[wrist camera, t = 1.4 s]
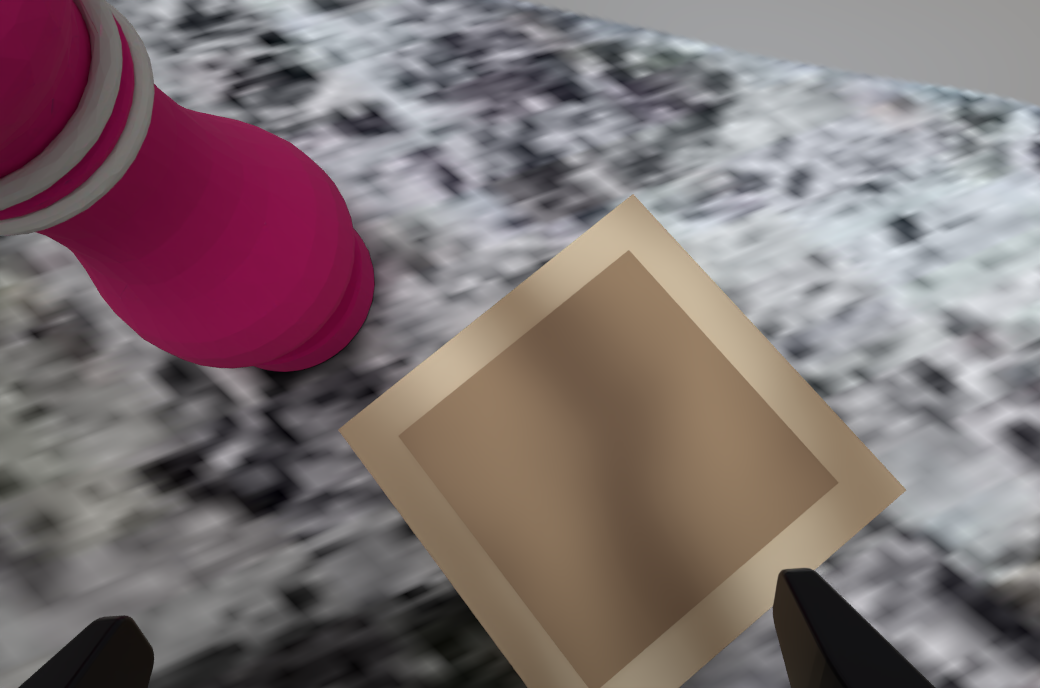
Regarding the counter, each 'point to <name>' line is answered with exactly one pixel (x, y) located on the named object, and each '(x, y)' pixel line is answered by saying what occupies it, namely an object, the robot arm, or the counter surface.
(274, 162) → the pepper mill
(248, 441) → the counter surface
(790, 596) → the robot arm
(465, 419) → the beech tray
